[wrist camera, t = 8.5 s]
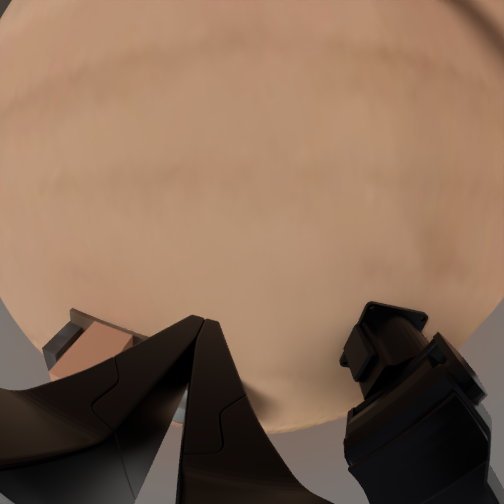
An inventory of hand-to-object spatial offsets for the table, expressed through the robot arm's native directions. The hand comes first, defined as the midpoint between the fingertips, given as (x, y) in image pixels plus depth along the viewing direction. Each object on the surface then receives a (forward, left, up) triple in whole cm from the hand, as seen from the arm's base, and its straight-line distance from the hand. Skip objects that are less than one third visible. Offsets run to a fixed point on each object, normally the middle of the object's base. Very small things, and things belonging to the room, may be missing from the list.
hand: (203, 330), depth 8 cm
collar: (+9, +14, -12) cm, 21 cm away
